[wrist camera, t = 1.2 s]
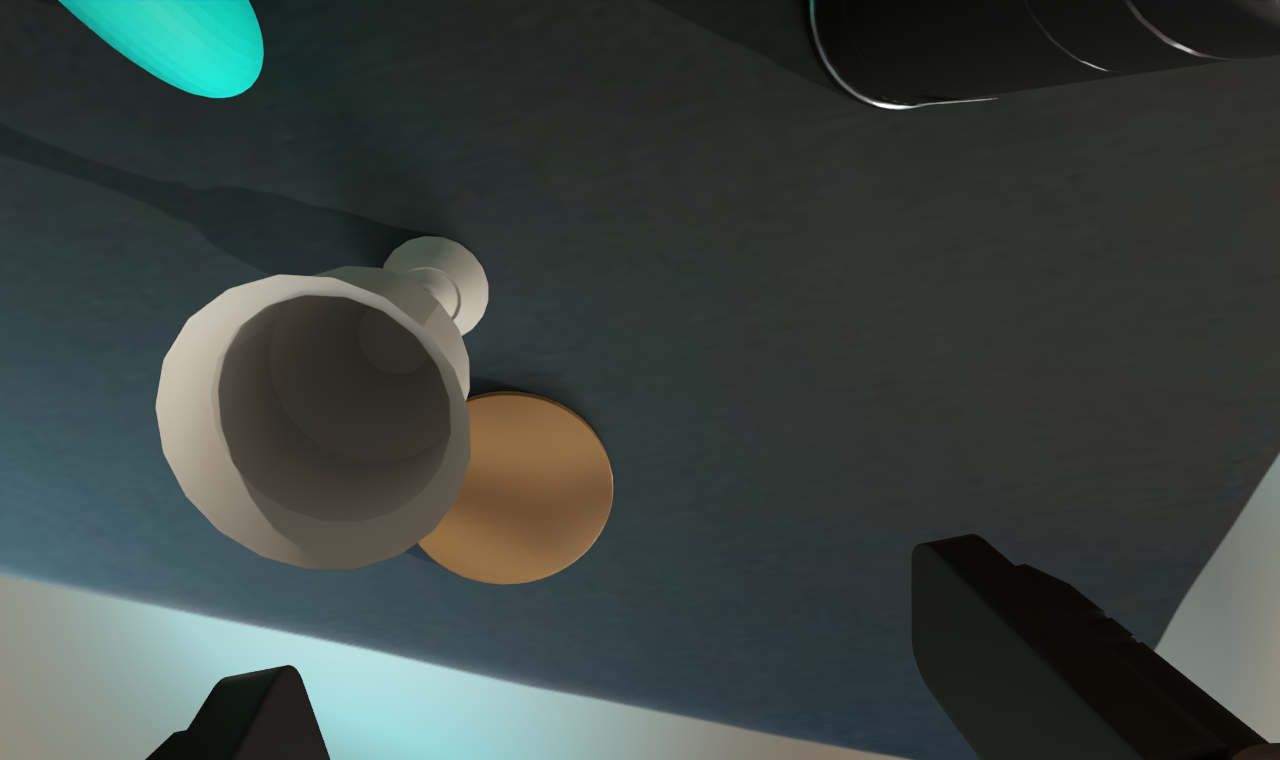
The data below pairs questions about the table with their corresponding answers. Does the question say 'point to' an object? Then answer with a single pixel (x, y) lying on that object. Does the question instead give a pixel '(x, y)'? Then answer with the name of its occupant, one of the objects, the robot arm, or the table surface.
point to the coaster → (524, 492)
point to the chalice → (328, 406)
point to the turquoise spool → (182, 40)
